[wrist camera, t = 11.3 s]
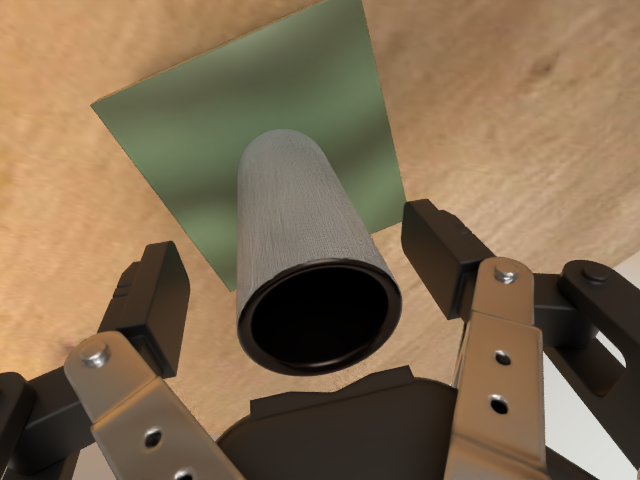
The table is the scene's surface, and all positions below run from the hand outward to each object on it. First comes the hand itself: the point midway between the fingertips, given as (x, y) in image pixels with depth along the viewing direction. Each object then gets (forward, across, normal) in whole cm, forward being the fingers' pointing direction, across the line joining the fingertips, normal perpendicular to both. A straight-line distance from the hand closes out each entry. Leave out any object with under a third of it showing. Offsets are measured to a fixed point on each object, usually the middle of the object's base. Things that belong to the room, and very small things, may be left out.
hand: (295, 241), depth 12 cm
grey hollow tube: (+7, 0, 0) cm, 7 cm away
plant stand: (+14, 0, 0) cm, 14 cm away
